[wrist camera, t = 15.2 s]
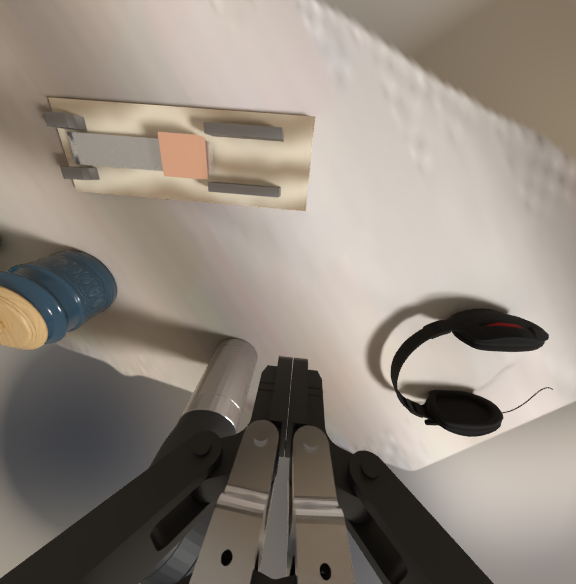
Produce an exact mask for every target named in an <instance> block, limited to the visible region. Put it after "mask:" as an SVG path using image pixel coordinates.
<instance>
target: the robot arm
mask: <svg viewBox="0 0 576 584" xmlns="http://www.w3.org/2000/svg"><path fill="white" fill-rule="evenodd" d="M256 361H257V353H256V351H255V349H254V348H253V347H252V346H251V345H250V344H249V343H247V342H245V341H243V340H240V339H227V340H225V341H223V342H221V343H220V344H219V345H218V347H217V349H216V351H215V353H214V355H213V357H212V359H211V360H210V362H209V364H208V366H207V368H206V370H205V372H204V374H203V376H202V378H201V379H200V381H199V383H198V385H197V387H196V389H195V391H194V393H193V395H192V397H191V399H190V400H189V403H188V405H187V406H186V408H185V410H184V412H183V414H182V416H181V418H180V420H179V422H178V424H177V425H176V427H175V428H174V430H173V431H172V432H171V433H170V435H169V436H168V437H167V439H166V440H165V442H164V443H163V445H162V446H161V448H160V450H159V451H158V453H157V455H156V457H155V458H154V460H153V462H152V464H151V465H150V467H149V468H148V469H147V470H146V471H145V472H143V473H142V474H141V475H139V476H138V477H137V478H135V479H134V480H132V481H131V482H130V483H128V484H127V485H126V486H124V487H123V488H122V489H120V490H119V491H118V492H116V493H115V494H114V495H112V496H111V497H110V498H108V499H107V500H106V501H104V502H103V503H101V504H100V505H99V506H97V507H96V508H95V509H93V510H92V511H91V512H90V513H88V514H87V515H86V516H84V517H83V518H82V519H80V520H79V521H77V522H76V523H75V524H73V525H72V526H71V527H69V528H68V529H66V530H65V531H64V532H62V533H61V534H60V535H58V536H57V537H56V538H54V539H53V540H52V541H50V542H49V543H48V544H46V545H45V546H43V547H42V548H41V549H40V550H38V551H37V552H35V553H34V554H33V555H31V556H30V557H29V558H27V559H26V560H25V561H23V562H22V563H21V564H19V565H18V566H17V567H16V568H14V569H12V570H11V571H10V572H8V573H7V574H6V575H4V576H3V577H2V578H0V584H139V583H140V584H355V579H354V573H353V568H352V561H351V555H350V550H349V549H350V548H349V542H348V536H347V530H346V528H347V529H348V531H349V532H350V534H351V535H352V537H353V538H354V540H355V541H356V543H357V545H358V546H359V548H360V549H361V551H362V552H363V554H364V555H365V557H366V559H367V560H368V562H369V563H370V565H371V566H372V568H373V569H374V571H375V572H376V574H377V576H378V577H379V578H380V580H381V582H382V583H383V584H493V583H492V581H491V580H490V579H489V578H488V577H487V576H486V575H485V574H484V573H483V572H482V570H481V569H480V568H479V567H478V566H477V565H476V564H475V563H474V562H473V560H472V559H471V558H470V557H469V556H468V555H467V554H466V553H465V552H464V550H463V549H461V547H460V546H459V545H458V544H457V543H456V542H455V541H454V539H453V538H452V537H451V536H450V535H449V534H448V533H447V532H446V531H445V530H444V529H443V528H442V526H441V525H440V524H439V523H438V522H437V521H436V520H435V519H434V517H433V516H432V515H431V514H430V513H429V512H428V511H427V510H426V509H425V507H423V505H422V504H421V503H420V502H419V501H418V500H417V499H416V498H415V496H414V495H413V494H412V493H411V492H410V491H409V490H408V489H407V488H406V487H405V485H404V484H403V483H402V482H401V481H400V480H399V479H398V478H397V477H396V476H395V474H394V473H393V472H392V471H391V470H390V469H389V468H388V467H387V466H386V464H385V463H384V462H383V461H382V460H381V459H380V458H379V457H378V456H376V455H375V454H373V453H371V452H369V451H358V452H356V453H354V454H352V453H350V452H348V451H346V450H343V449H341V448H340V447H338V446H336V445H335V444H334V443H333V442H332V441H331V440H330V439H329V437H328V435H327V433H326V430H325V420H324V405H323V390H322V379H321V377H320V375H319V373H318V371H314V370H308V359H301V358H294V361H293V358H291V357H282V356H279V359H278V366H269V365H268V366H267V367H266V368H265V369H264V371H263V372H262V374H261V379H260V383H259V387H258V392H257V396H256V400H255V404H254V409H253V413H252V418H251V421H250V423H249V424H248V426H247V427H246V428H245V429H244V430H243V431H241V432H240V433H237V430H238V427H239V423H240V420H241V415H242V412H243V408H244V405H245V401H246V398H247V394H248V390H249V387H250V383H251V379H252V376H253V372H254V369H255V365H256ZM292 361H293V371H292ZM291 372H292V380H291ZM290 384H291V391H290ZM289 396H290V403H289ZM288 408H289V415H288ZM287 419H288V427H287ZM286 429H287V439H286V451H285V457H289V458H290V462H289V475H288V546H287V577H284V578H280V579H271V578H269V577H268V576H266V575H264V574H262V573H261V572H260V566H261V560H262V554H263V547H264V539H265V533H266V528H267V522H268V516H269V510H270V505H271V499H272V493H273V488H274V482H275V477H276V475H277V469H278V461H279V456H280V457H283V456H284V447H285V438H286Z"/></svg>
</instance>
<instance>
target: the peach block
mask: <svg viewBox="0 0 576 584" xmlns="http://www.w3.org/2000/svg"><path fill="white" fill-rule="evenodd" d="M158 139H159V146H160V153H161V160H162V166H163V173H164V176H168V177H180V178H192V179H208V174H207V160H206V146H205V137H202V136H199V135H194V134H181V133H168V132H158Z"/></svg>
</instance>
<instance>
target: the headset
mask: <svg viewBox="0 0 576 584" xmlns="http://www.w3.org/2000/svg"><path fill="white" fill-rule="evenodd" d="M451 331H452V333H453V334H454V335H455V336H456V337H457V338H458V339H459V340H461V341H462V342H464V343H466V344H467V345H469V346H471V347H473V348H475V349H479V350H486V351H503V352H523V351H533V350H536V349H538V348H540V347H542V346H543V344H544V342H545V341H546V340H548V338H549V335H548V334H547V333H546V332H545V331H544V330H543V329H542V328H541V327H539V326H538V325H536V324H534V323H532V322H530V321H527V320H525V319H522V318H520V317H516V316H512V315H508V314H504V313H501V312H498V311H494V310H490V309H471V310H466V311H462V312H459V313H456V314H454V315H453V316H452V318H451V319H448V320H440V321H436V322H433V323H430V324H428V325H426V326H424V327H423V329H421V330H419V331H418V332H416V333H415V334H413V335H412V336H411V337H409V338H408V339H407V340H406V341H405V342H404V343H403V344H402V345H401V347H400V348H399V349H398V351H397V352H396V354H395V356H394V358H393V361H392V365H391V380H392V383H393V386H394V389H395V391H396V394H397V397H398V399H399V401H400V402H401V403H402V404H403V406H405V407H406V408H407V409H408V410H409V411H410V412H411V413H412V414H414V415H416V416H418V417H421V418H423V417H425V418H427V420H425V424H426V425H439V426H441V427H442V428H444V429H446V430H448V431H450V432H452V433H455V434H458V435H462V436H469V437H474V436H482V435H486V434H489V433H492V432H494V431H496V430H497V429H498V428H499V427H500V426H501V421H502V420H503V414H502V413H506V412H501V411H500V409H499V408H498V407H497V406H496V405H495V404H494V403H492V402H491V401H489V400H487V399H485V398H483V397H480V396H478V395H475V394H471V393H466V392H459V391H442V390H438V391H432V392H430V394H429V396H428V398H427V399H426V402H425V404H423V405H420V404H418V403H416V402H413V401H411V400H409V399H406V398H405V397H403V396H402V395H401V393H400V392H399V391H398V389H397V380H398V376H399V372H400V369H401V367H402V365H403V363H404V362H405V360H406V359H407V358H408V356H409V355H410V354H411V353H412V352H413V351H414V350H415V349H416V348H417V347H419V346H420V345H421V344H422V343H424V342H425V341H427V340H429V339H433V338H436V337H439V336H441V335H445V334H448V333H451ZM546 388H549V387H546ZM543 389H545V388H543ZM543 389H541V390H543ZM550 389H552V388H550ZM541 390H540V391H541ZM552 390H553V389H552ZM540 391H538V392H540ZM538 392H537V393H538ZM537 393H536V394H537ZM536 394H534V395H533V396H535V395H536ZM533 396H532V397H533ZM532 397H531V398H532ZM531 398H530V399H531ZM530 399H529V400H530ZM529 400H527V401H526V402H528V401H529ZM526 402H525V403H526ZM525 403H523V404H525ZM523 404H522V405H523ZM522 405H521V406H522ZM519 407H520V406H519ZM519 407H517V408H519ZM517 408H515V409H517ZM515 409H513V410H515ZM513 410H510V411H513ZM510 411H507V412H510Z"/></svg>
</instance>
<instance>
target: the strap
mask: <svg viewBox="0 0 576 584" xmlns="http://www.w3.org/2000/svg"><path fill="white" fill-rule="evenodd" d="M67 136H68V139H69V143H70V146H71V150H72V153H73V156H74V160H75V163H76V164H82V165H94V166H107V167H119V168H131V169H143V170H155V171H163V166H162V160H161V153H160V146H159V139H157V138H144V137H131V136H118V135H105V134H91V133H78V132H67ZM205 146H206V160H207V174H208V175H214V166H213V149H212V143H209V142H205Z"/></svg>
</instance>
